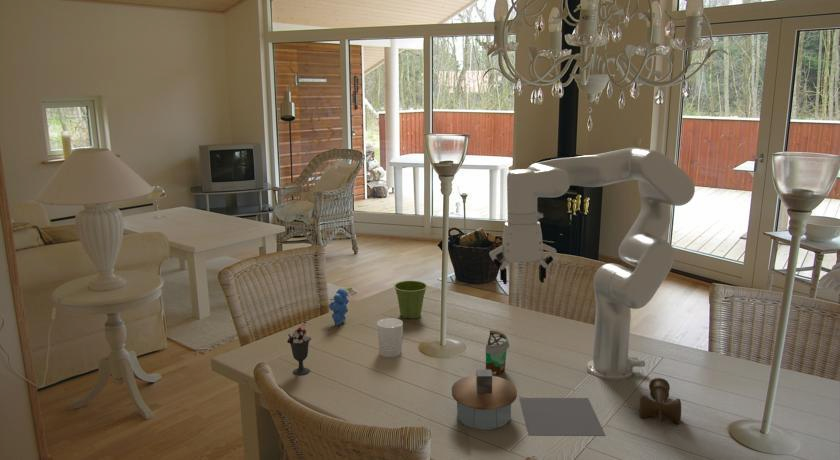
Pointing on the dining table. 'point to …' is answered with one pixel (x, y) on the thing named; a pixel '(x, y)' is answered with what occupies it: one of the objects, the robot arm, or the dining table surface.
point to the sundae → (300, 349)
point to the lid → (484, 391)
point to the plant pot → (410, 298)
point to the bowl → (483, 417)
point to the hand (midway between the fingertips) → (523, 281)
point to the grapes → (339, 306)
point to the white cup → (390, 337)
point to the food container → (496, 352)
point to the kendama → (660, 402)
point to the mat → (560, 417)
